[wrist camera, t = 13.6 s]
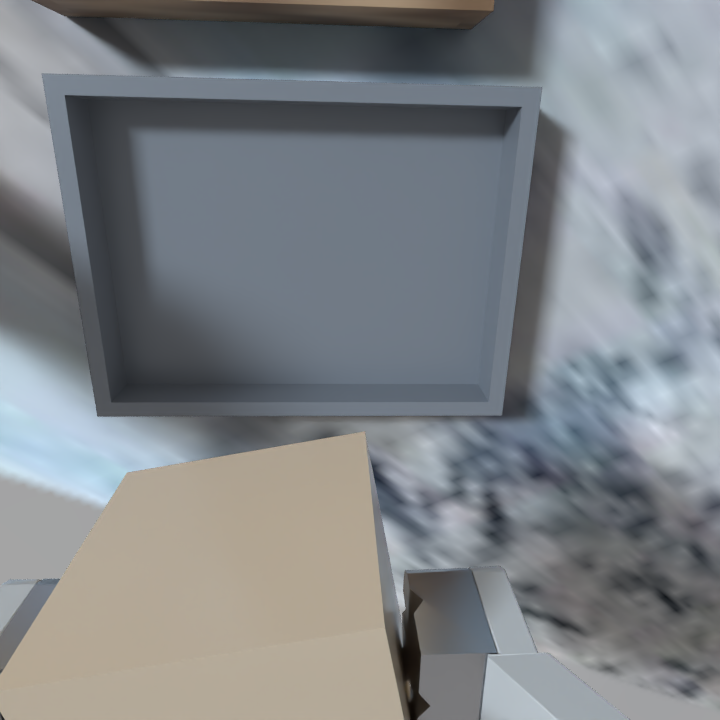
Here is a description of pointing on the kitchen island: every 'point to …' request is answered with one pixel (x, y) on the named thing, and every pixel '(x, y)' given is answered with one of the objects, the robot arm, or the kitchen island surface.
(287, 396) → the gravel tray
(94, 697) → the beige cube
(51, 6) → the brown rectangular tray
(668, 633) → the kitchen island surface
